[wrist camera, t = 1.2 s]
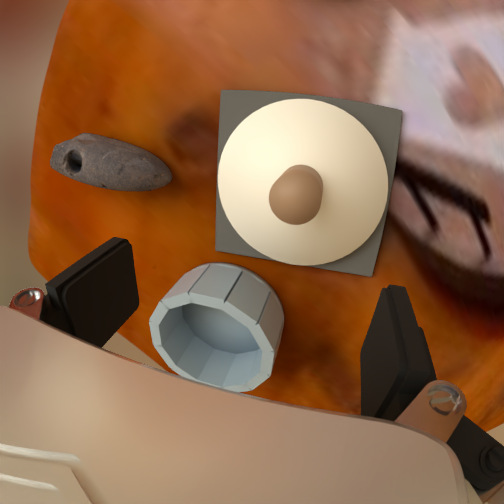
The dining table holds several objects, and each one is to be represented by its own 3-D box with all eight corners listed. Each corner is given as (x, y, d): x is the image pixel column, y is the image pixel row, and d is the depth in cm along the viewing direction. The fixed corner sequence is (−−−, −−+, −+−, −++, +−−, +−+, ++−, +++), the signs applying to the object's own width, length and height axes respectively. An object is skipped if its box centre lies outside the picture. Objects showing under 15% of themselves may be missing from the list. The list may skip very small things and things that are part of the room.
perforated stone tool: (188, 153, 30) (152, 164, 24) (177, 199, 33) (143, 219, 27) (87, 125, 32) (47, 132, 26) (82, 164, 34) (43, 176, 28)
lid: (396, 114, 23) (413, 113, 18) (368, 271, 30) (373, 305, 25) (225, 94, 26) (199, 90, 21) (220, 246, 33) (197, 273, 28)
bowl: (291, 273, 33) (280, 310, 27) (277, 363, 39) (266, 403, 33) (173, 252, 36) (143, 280, 30) (181, 340, 42) (159, 373, 36)
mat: (401, 110, 23) (402, 110, 23) (371, 274, 31) (371, 276, 30) (222, 90, 27) (221, 90, 26) (217, 248, 34) (215, 250, 34)
